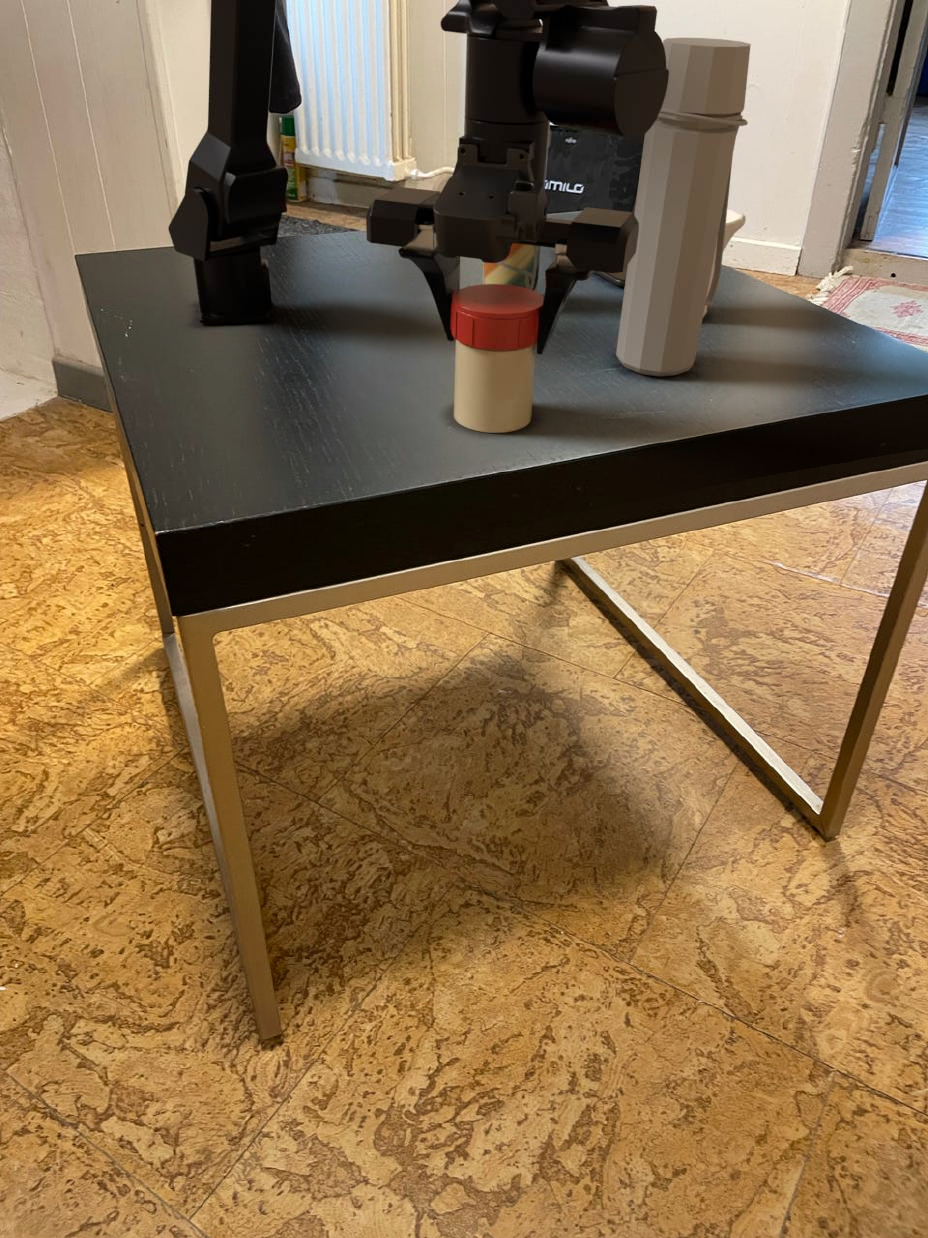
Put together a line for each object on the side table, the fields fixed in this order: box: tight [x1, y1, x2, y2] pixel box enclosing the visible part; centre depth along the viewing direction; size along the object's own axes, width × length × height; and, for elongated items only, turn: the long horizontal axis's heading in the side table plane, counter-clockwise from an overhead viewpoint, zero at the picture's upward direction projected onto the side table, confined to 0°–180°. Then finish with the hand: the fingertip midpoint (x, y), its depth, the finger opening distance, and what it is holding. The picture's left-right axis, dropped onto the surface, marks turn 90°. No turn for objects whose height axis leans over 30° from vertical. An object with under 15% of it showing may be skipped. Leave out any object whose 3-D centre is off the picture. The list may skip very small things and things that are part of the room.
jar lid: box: [450, 283, 544, 350], centre depth 70 cm, size 7×7×3 cm
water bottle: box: [615, 37, 752, 377], centre depth 78 cm, size 9×8×25 cm
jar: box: [453, 339, 537, 434], centre depth 72 cm, size 6×6×9 cm
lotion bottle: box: [482, 243, 541, 293], centre depth 92 cm, size 6×6×20 cm
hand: (495, 346), depth 71 cm, fingers closed on jar lid, 7 cm apart
